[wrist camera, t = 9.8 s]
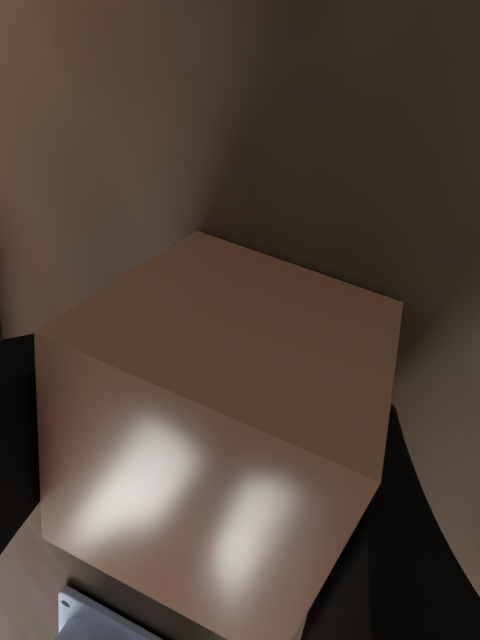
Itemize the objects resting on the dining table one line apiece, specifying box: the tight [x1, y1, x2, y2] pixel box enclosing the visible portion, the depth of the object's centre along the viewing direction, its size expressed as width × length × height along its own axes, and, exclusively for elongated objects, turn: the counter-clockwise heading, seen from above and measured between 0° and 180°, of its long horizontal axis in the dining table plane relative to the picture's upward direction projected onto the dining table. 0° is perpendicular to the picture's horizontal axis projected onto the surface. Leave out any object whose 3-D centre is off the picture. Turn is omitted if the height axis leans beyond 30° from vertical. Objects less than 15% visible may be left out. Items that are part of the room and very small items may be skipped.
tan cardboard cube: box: [34, 231, 403, 640], centre depth 11 cm, size 6×6×6 cm
